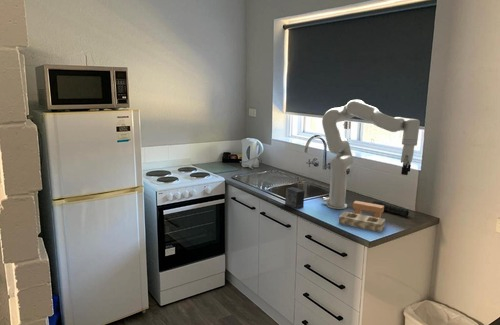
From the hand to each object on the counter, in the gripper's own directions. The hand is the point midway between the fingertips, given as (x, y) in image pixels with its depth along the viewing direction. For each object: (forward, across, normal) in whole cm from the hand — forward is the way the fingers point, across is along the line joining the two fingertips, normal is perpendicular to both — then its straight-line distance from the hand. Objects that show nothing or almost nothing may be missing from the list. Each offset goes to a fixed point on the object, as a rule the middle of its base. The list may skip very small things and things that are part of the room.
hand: (405, 172), depth 209 cm
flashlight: (+28, -11, -7) cm, 31 cm away
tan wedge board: (+27, +7, -16) cm, 33 cm away
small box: (+28, +10, -59) cm, 66 cm away
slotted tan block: (+27, +20, -17) cm, 37 cm away
